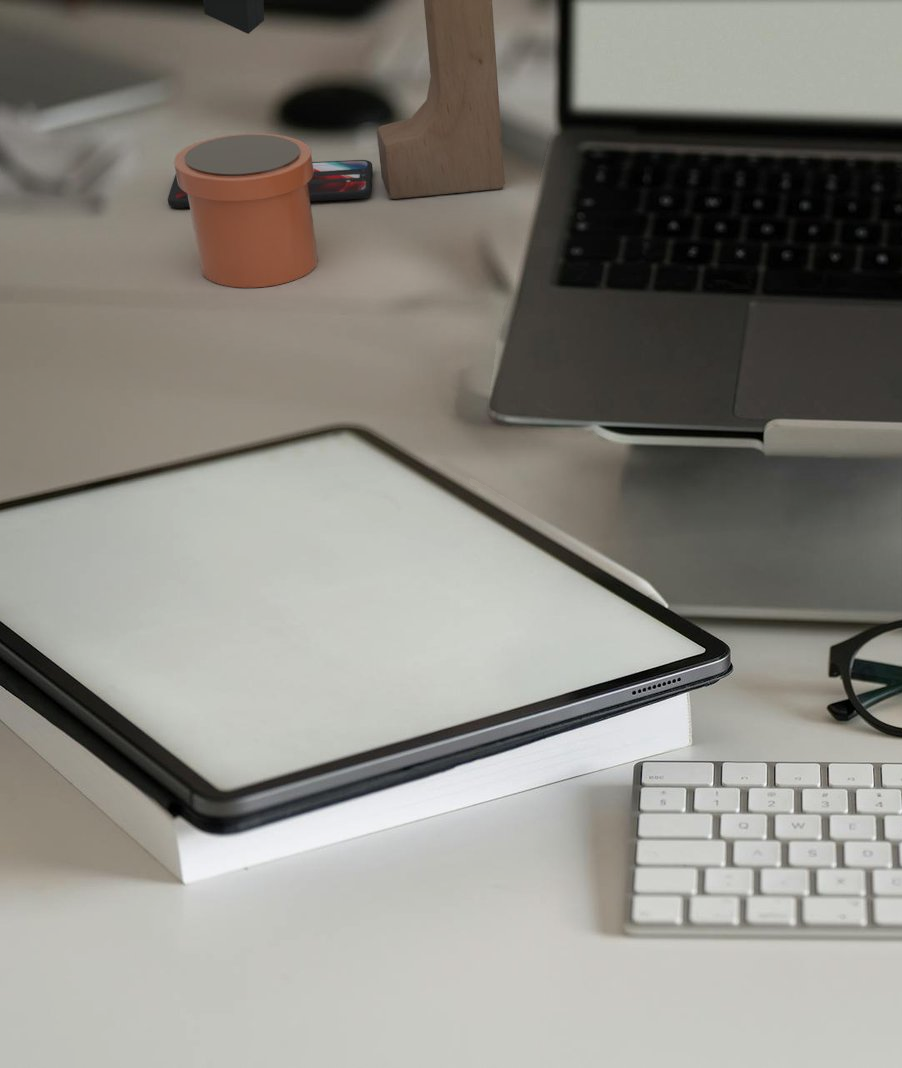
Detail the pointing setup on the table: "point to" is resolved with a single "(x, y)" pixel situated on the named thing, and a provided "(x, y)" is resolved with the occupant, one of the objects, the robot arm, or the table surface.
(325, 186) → the smartphone
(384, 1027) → the table surface
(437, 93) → the wooden block
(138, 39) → the table surface
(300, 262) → the flower pot
